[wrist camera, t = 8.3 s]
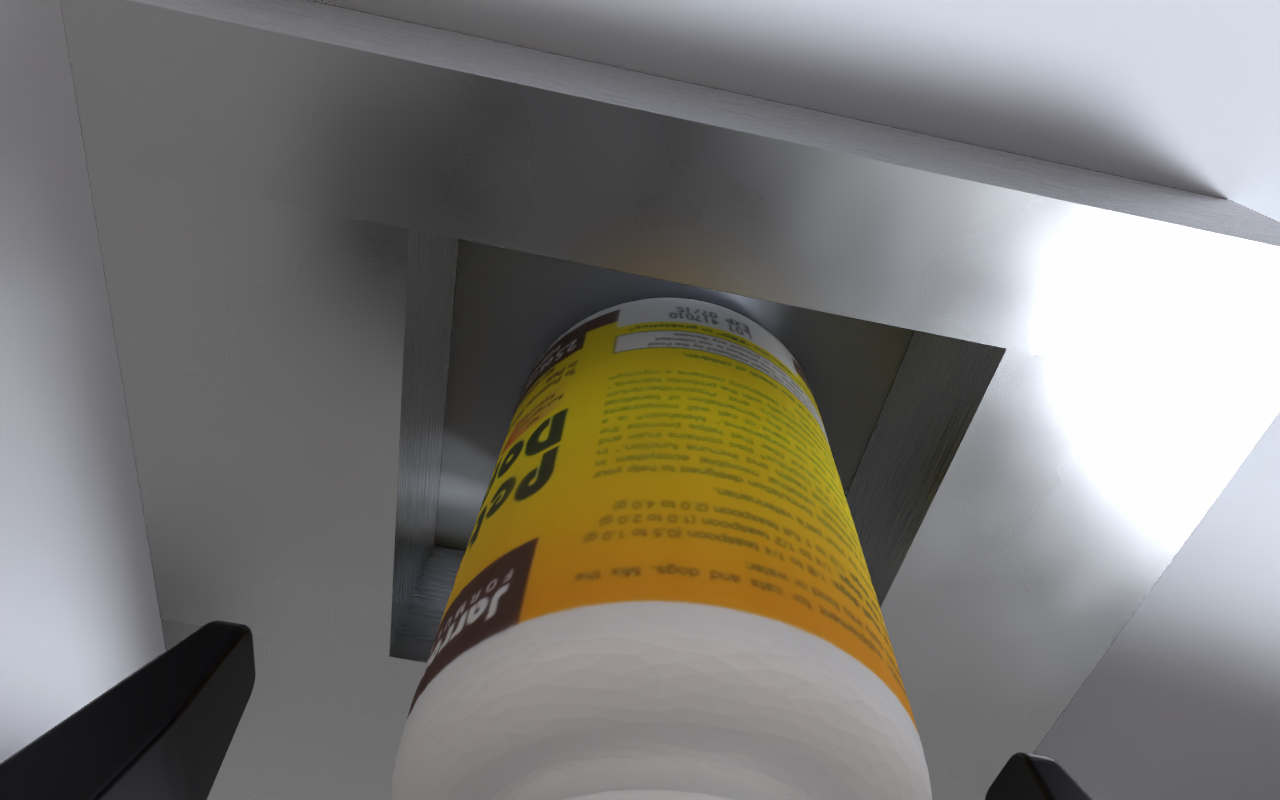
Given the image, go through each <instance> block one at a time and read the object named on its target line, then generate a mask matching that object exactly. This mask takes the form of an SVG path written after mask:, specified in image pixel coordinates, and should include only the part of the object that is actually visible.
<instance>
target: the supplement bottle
mask: <svg viewBox="0 0 1280 800" xmlns="http://www.w3.org/2000/svg"><path fill="white" fill-rule="evenodd" d="M392 799H393V800H932V793H931V785H930V779H929V772H928V768H927V764H926V761H925V756H924V752H923V747H922V743H921V740H920V737H919V733H918V730H917V727H916V723H915V720H914V716H913V713H912V710H911V706H910V703H909V700H908V697H907V694H906V691H905V688H904V685H903V682H902V678H901V675H900V671H899V668H898V665H897V661H896V658H895V655H894V651H893V648H892V644H891V642H890V639H889V636H888V632H887V629H886V627H885V623H884V620H883V616H882V613H881V609H880V606H879V603H878V600H877V596H876V593H875V590H874V588H873V585H872V582H871V578H870V575H869V571H868V568H867V564H866V561H865V558H864V555H863V552H862V549H861V546H860V542H859V538H858V535H857V532H856V529H855V526H854V522H853V519H852V516H851V513H850V509H849V506H848V503H847V500H846V497H845V494H844V491H843V488H842V484H841V481H840V478H839V475H838V471H837V468H836V465H835V462H834V459H833V456H832V452H831V449H830V446H829V443H828V439H827V435H826V432H825V428H824V425H823V421H822V418H821V414H820V411H819V408H818V405H817V403H816V400H815V397H814V394H813V392H812V389H811V387H810V384H809V382H808V379H807V377H806V375H805V373H804V372H803V370H802V368H801V367H800V365H799V364H798V362H797V361H796V359H795V358H794V356H793V355H792V354H791V353H790V352H789V350H788V349H787V348H786V347H785V346H784V345H783V344H782V343H781V342H780V341H779V340H778V339H777V338H776V337H774V336H773V335H772V334H771V333H770V332H769V331H767V330H766V329H764V328H763V327H762V326H760V325H759V324H757V323H755V322H754V321H752V320H750V319H749V318H747V317H745V316H743V315H741V314H739V313H737V312H734V311H732V310H729V309H727V308H725V307H722V306H719V305H716V304H712V303H707V302H703V301H698V300H692V299H684V298H650V299H642V300H637V301H632V302H627V303H623V304H619V305H616V306H612V307H609V308H607V309H604V310H602V311H599V312H597V313H595V314H593V315H591V316H589V317H587V318H585V319H583V320H582V321H580V322H578V323H577V324H575V325H574V326H573V327H571V328H570V329H569V330H567V331H566V332H565V333H564V334H562V335H561V336H560V337H559V338H558V339H557V340H556V341H555V342H554V343H553V344H552V345H551V346H550V347H549V348H548V349H547V350H546V352H545V353H544V354H543V355H542V356H541V358H540V359H539V360H538V362H537V364H536V365H535V367H534V369H533V370H532V372H531V373H530V375H529V377H528V379H527V381H526V383H525V385H524V388H523V390H522V393H521V396H520V398H519V401H518V403H517V406H516V409H515V411H514V414H513V417H512V420H511V424H510V427H509V429H508V432H507V435H506V438H505V441H504V443H503V446H502V449H501V452H500V455H499V458H498V461H497V464H496V467H495V469H494V472H493V475H492V478H491V480H490V483H489V486H488V489H487V492H486V495H485V497H484V500H483V503H482V506H481V509H480V512H479V515H478V517H477V520H476V523H475V526H474V529H473V532H472V535H471V537H470V540H469V543H468V546H467V549H466V552H465V554H464V556H463V559H462V561H461V564H460V567H459V570H458V572H457V575H456V577H455V583H454V587H453V589H452V592H451V594H450V597H449V600H448V603H447V606H446V608H445V611H444V614H443V617H442V620H441V623H440V625H439V628H438V631H437V634H436V637H435V639H434V642H433V645H432V649H431V653H430V656H429V658H428V661H427V664H426V666H425V669H424V672H423V674H422V677H421V680H420V683H419V685H418V687H417V690H416V692H415V695H414V698H413V701H412V703H411V707H410V710H409V714H408V717H407V719H406V723H405V727H404V731H403V735H402V739H401V742H400V745H399V749H398V752H397V755H396V761H395V766H394V772H393V782H392Z"/></svg>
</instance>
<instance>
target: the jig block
mask: <svg viewBox="0 0 1280 800" xmlns="http://www.w3.org/2000/svg"><path fill="white" fill-rule="evenodd" d="M60 2H61V8H62V14H63V20H64V26H65V33H66V39H67V45H68V51H69V57H70V63H71V70H72V76H73V82H74V88H75V94H76V100H77V106H78V113H79V119H80V125H81V131H82V137H83V143H84V149H85V156H86V162H87V168H88V174H89V180H90V186H91V192H92V199H93V205H94V211H95V217H96V223H97V229H98V235H99V242H100V248H101V254H102V260H103V266H104V272H105V279H106V285H107V291H108V297H109V303H110V309H111V315H112V322H113V328H114V334H115V340H116V346H117V352H118V358H119V365H120V371H121V377H122V383H123V389H124V395H125V401H126V408H127V414H128V420H129V426H130V432H131V438H132V445H133V451H134V457H135V463H136V469H137V475H138V481H139V488H140V494H141V500H142V506H143V512H144V518H145V524H146V531H147V537H148V543H149V549H150V555H151V561H152V567H153V574H154V580H155V586H156V592H157V598H158V604H159V610H160V617H161V623H162V629H163V635H164V641H165V647H166V650H168V649H169V648H171V647H172V646H174V645H175V644H177V643H178V642H180V641H181V640H183V639H184V638H186V637H187V636H188V635H190V634H191V633H193V632H194V631H196V630H197V629H199V628H200V627H202V626H203V625H205V624H206V623H209V622H211V621H215V620H220V621H226V622H232V623H238V624H244V625H247V626H248V627H249V628H250V629H251V631H252V635H253V646H254V659H255V671H256V676H255V683H254V687H253V690H252V693H251V696H250V699H249V701H248V703H247V706H246V708H245V710H244V713H243V715H242V717H241V720H240V722H239V725H238V727H237V729H236V732H235V734H234V736H233V739H232V741H231V744H230V746H229V748H228V751H227V753H226V755H225V758H224V760H223V762H222V765H221V767H220V770H219V772H218V774H217V777H216V779H215V781H214V784H213V786H212V789H211V791H210V793H209V796H208V798H207V800H393V799H392V782H393V772H394V766H395V761H396V755H397V752H398V749H399V745H400V742H401V739H402V735H403V731H404V727H405V723H406V719H407V717H408V714H409V710H410V707H411V703H412V701H413V698H414V695H415V692H416V690H417V687H418V685H419V683H420V680H421V677H422V674H423V672H424V669H425V666H426V664H427V661H428V658H429V656H430V653H431V649H432V645H433V642H434V639H435V637H436V634H437V631H438V628H439V625H440V623H441V620H442V617H443V614H444V611H445V608H446V606H447V603H448V600H449V597H450V594H451V592H452V589H453V587H454V583H455V577H456V575H457V572H458V570H459V567H460V564H461V561H462V559H463V556H464V554H465V552H466V551H464V550H458V549H452V548H447V547H441V546H435V545H434V543H435V530H436V518H437V506H438V493H439V481H440V468H441V456H442V444H443V431H444V419H445V407H446V394H447V382H448V370H449V357H450V345H451V333H452V320H453V308H454V295H455V283H456V271H457V258H458V246H459V239H461V240H466V241H471V242H476V243H481V244H486V245H491V246H496V247H501V248H506V249H511V250H516V251H521V252H526V253H531V254H536V255H541V256H546V257H551V258H556V259H561V260H566V261H571V262H576V263H581V264H586V265H591V266H596V267H601V268H606V269H611V270H616V271H621V272H626V273H631V274H636V275H641V276H646V277H651V278H656V279H661V280H666V281H671V282H676V283H681V284H686V285H691V286H696V287H701V288H706V289H711V290H716V291H721V292H726V293H731V294H736V295H741V296H746V297H751V298H756V299H761V300H766V301H771V302H776V303H781V304H786V305H791V306H796V307H801V308H806V309H811V310H816V311H821V312H826V313H831V314H836V315H841V316H846V317H851V318H856V319H861V320H866V321H871V322H876V323H881V324H886V325H891V326H896V327H901V328H906V329H911V330H915V332H914V334H913V337H912V339H911V342H910V344H909V346H908V349H907V351H906V354H905V356H904V358H903V361H902V363H901V366H900V368H899V371H898V373H897V375H896V378H895V380H894V383H893V385H892V387H891V390H890V392H889V395H888V397H887V399H886V402H885V404H884V407H883V409H882V411H881V414H880V416H879V419H878V421H877V424H876V426H875V428H874V431H873V433H872V436H871V438H870V440H869V443H868V445H867V448H866V450H865V452H864V455H863V457H862V460H861V462H860V464H859V467H858V469H857V472H856V474H855V476H854V479H853V481H852V484H851V486H850V489H849V491H848V493H847V496H846V500H847V503H848V506H849V509H850V513H851V516H852V519H853V522H854V526H855V529H856V532H857V535H858V538H859V542H860V546H861V549H862V552H863V555H864V558H865V561H866V564H867V568H868V571H869V575H870V578H871V582H872V585H873V588H874V590H875V593H876V596H877V600H878V603H879V606H880V609H881V613H882V616H883V620H884V623H885V627H886V629H887V632H888V636H889V639H890V642H891V644H892V648H893V651H894V655H895V658H896V661H897V665H898V668H899V671H900V675H901V678H902V682H903V685H904V688H905V691H906V694H907V697H908V700H909V703H910V706H911V710H912V713H913V716H914V720H915V723H916V727H917V730H918V733H919V737H920V740H921V743H922V747H923V752H924V756H925V761H926V764H927V768H928V772H929V779H930V785H931V793H932V800H985V797H986V793H987V791H988V789H989V787H990V786H991V784H992V783H993V781H994V780H995V779H996V777H997V776H998V774H999V773H1000V771H1001V770H1002V768H1003V767H1004V766H1005V764H1006V763H1007V761H1008V760H1009V758H1010V757H1011V756H1012V755H1014V754H1016V753H1018V752H1024V753H1030V754H1033V752H1034V751H1035V750H1036V748H1037V747H1038V746H1039V744H1040V743H1041V741H1042V740H1043V739H1044V737H1045V736H1046V734H1047V733H1048V732H1049V730H1050V729H1051V727H1052V726H1053V725H1054V723H1055V722H1056V721H1057V719H1058V718H1059V716H1060V715H1061V714H1062V712H1063V711H1064V709H1065V708H1066V707H1067V705H1068V704H1069V702H1070V701H1071V700H1072V698H1073V697H1074V696H1075V694H1076V693H1077V691H1078V690H1079V689H1080V687H1081V686H1082V684H1083V683H1084V682H1085V680H1086V679H1087V677H1088V676H1089V675H1090V673H1091V672H1092V671H1093V669H1094V668H1095V666H1096V665H1097V664H1098V662H1099V661H1100V659H1101V658H1102V657H1103V655H1104V654H1105V652H1106V651H1107V650H1108V648H1109V647H1110V645H1111V644H1112V643H1113V641H1114V640H1115V639H1116V637H1117V636H1118V634H1119V633H1120V632H1121V630H1122V629H1123V627H1124V626H1125V625H1126V623H1127V622H1128V620H1129V619H1130V618H1131V616H1132V615H1133V614H1134V612H1135V611H1136V609H1137V608H1138V607H1139V605H1140V604H1141V602H1142V601H1143V600H1144V598H1145V597H1146V595H1147V594H1148V593H1149V591H1150V590H1151V589H1152V587H1153V586H1154V584H1155V583H1156V582H1157V580H1158V579H1159V577H1160V576H1161V575H1162V573H1163V572H1164V570H1165V569H1166V568H1167V566H1168V565H1169V564H1170V562H1171V561H1172V559H1173V558H1174V557H1175V555H1176V554H1177V552H1178V551H1179V550H1180V548H1181V547H1182V545H1183V544H1184V543H1185V541H1186V540H1187V538H1188V537H1189V536H1190V534H1191V533H1192V532H1193V530H1194V529H1195V527H1196V526H1197V525H1198V523H1199V522H1200V520H1201V519H1202V518H1203V516H1204V515H1205V513H1206V512H1207V511H1208V509H1209V508H1210V507H1211V505H1212V504H1213V502H1214V501H1215V500H1216V498H1217V497H1218V495H1219V494H1220V493H1221V491H1222V490H1223V488H1224V487H1225V486H1226V484H1227V483H1228V482H1229V480H1230V479H1231V477H1232V476H1233V475H1234V473H1235V472H1236V470H1237V469H1238V468H1239V466H1240V465H1241V463H1242V462H1243V461H1244V459H1245V458H1246V457H1247V455H1248V454H1249V452H1250V451H1251V450H1252V448H1253V447H1254V445H1255V444H1256V443H1257V441H1258V440H1259V438H1260V437H1261V436H1262V434H1263V433H1264V432H1265V430H1266V429H1267V427H1268V426H1269V425H1270V423H1271V422H1272V420H1273V419H1274V418H1275V416H1276V415H1277V413H1278V412H1279V411H1280V222H1277V221H1275V220H1273V219H1271V218H1269V217H1266V216H1264V215H1262V214H1260V213H1258V212H1255V211H1253V210H1251V209H1249V208H1247V207H1244V206H1242V205H1240V204H1238V203H1235V202H1233V201H1230V200H1225V199H1221V198H1216V197H1211V196H1207V195H1202V194H1198V193H1193V192H1188V191H1184V190H1179V189H1175V188H1170V187H1165V186H1161V185H1156V184H1152V183H1147V182H1142V181H1138V180H1133V179H1129V178H1124V177H1119V176H1115V175H1110V174H1106V173H1101V172H1096V171H1092V170H1087V169H1083V168H1078V167H1073V166H1069V165H1064V164H1060V163H1055V162H1050V161H1046V160H1041V159H1036V158H1032V157H1027V156H1023V155H1018V154H1013V153H1009V152H1004V151H1000V150H995V149H990V148H986V147H981V146H977V145H972V144H967V143H963V142H958V141H954V140H949V139H944V138H940V137H935V136H931V135H926V134H921V133H917V132H912V131H908V130H903V129H898V128H894V127H889V126H885V125H880V124H875V123H871V122H866V121H862V120H857V119H852V118H848V117H843V116H839V115H834V114H829V113H825V112H820V111H815V110H811V109H806V108H802V107H797V106H792V105H788V104H783V103H779V102H774V101H769V100H765V99H760V98H756V97H751V96H746V95H742V94H737V93H733V92H728V91H723V90H719V89H714V88H710V87H705V86H700V85H696V84H691V83H687V82H682V81H677V80H673V79H668V78H664V77H659V76H654V75H650V74H645V73H641V72H636V71H631V70H627V69H622V68H618V67H613V66H608V65H604V64H599V63H594V62H590V61H585V60H581V59H576V58H571V57H567V56H562V55H558V54H553V53H548V52H544V51H539V50H535V49H530V48H525V47H521V46H516V45H512V44H507V43H502V42H498V41H493V40H489V39H484V38H479V37H475V36H470V35H466V34H461V33H456V32H452V31H447V30H443V29H438V28H433V27H429V26H424V25H420V24H415V23H410V22H406V21H401V20H397V19H392V18H387V17H383V16H378V15H373V14H369V13H364V12H360V11H355V10H350V9H346V8H341V7H337V6H332V5H327V4H323V3H318V2H314V1H309V0H60Z"/></svg>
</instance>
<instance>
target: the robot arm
mask: <svg viewBox="0 0 1280 800" xmlns="http://www.w3.org/2000/svg"><path fill="white" fill-rule="evenodd" d="M255 676H256V671H255V659H254V646H253V635H252V631H251V629H250V628H249V627H248V626H247V625H244V624H238V623H232V622H226V621H220V620H215V621H211V622H209V623H206V624H205V625H203V626H202V627H200V628H199V629H197V630H196V631H194V632H193V633H191V634H190V635H188V636H187V637H186V638H184V639H183V640H181V641H180V642H178V643H177V644H175V645H174V646H172V647H171V648H169V649H168V650H166V651H165V652H164V653H162V654H161V655H159V656H158V657H156V658H155V659H153V660H152V661H150V662H149V663H147V664H146V665H144V666H143V667H142V668H140V669H139V670H137V671H136V672H134V673H133V674H131V675H130V676H128V677H127V678H125V679H124V680H122V681H121V682H120V683H118V684H117V685H115V686H114V687H112V688H111V689H109V690H108V691H106V692H105V693H103V694H102V695H100V696H99V697H98V698H96V699H95V700H93V701H92V702H90V703H89V704H87V705H86V706H84V707H83V708H81V709H80V710H79V711H77V712H76V713H74V714H73V715H71V716H70V717H68V718H67V719H65V720H64V721H62V722H61V723H59V724H58V725H57V726H55V727H54V728H52V729H51V730H49V731H48V732H46V733H45V734H43V735H42V736H40V737H39V738H37V739H36V740H35V741H33V742H32V743H30V744H29V745H27V746H26V747H24V748H23V749H21V750H20V751H18V752H17V753H15V754H14V755H13V756H11V757H10V758H8V759H7V760H5V761H4V762H2V763H1V764H0V800H207V798H208V796H209V793H210V791H211V789H212V786H213V784H214V781H215V779H216V777H217V774H218V772H219V770H220V767H221V765H222V762H223V760H224V758H225V755H226V753H227V751H228V748H229V746H230V744H231V741H232V739H233V736H234V734H235V732H236V729H237V727H238V725H239V722H240V720H241V717H242V715H243V713H244V710H245V708H246V706H247V703H248V701H249V699H250V696H251V693H252V690H253V687H254V683H255ZM985 800H1092V799H1091V798H1090V797H1089V795H1088V794H1087V793H1086V792H1085V791H1084V790H1083V789H1082V788H1081V787H1080V786H1079V785H1078V784H1077V783H1076V782H1075V781H1074V780H1073V779H1072V777H1071V776H1070V775H1069V774H1068V773H1067V772H1066V771H1065V770H1064V769H1063V768H1062V767H1061V766H1060V765H1059V764H1058V763H1057V762H1056V761H1054V760H1053V759H1051V758H1049V757H1047V756H1042V755H1036V754H1030V753H1024V752H1018V753H1016V754H1014V755H1012V756H1011V757H1010V758H1009V760H1008V761H1007V763H1006V764H1005V766H1004V767H1003V768H1002V770H1001V771H1000V773H999V774H998V776H997V777H996V779H995V780H994V781H993V783H992V784H991V786H990V787H989V789H988V791H987V793H986V797H985Z"/></svg>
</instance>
